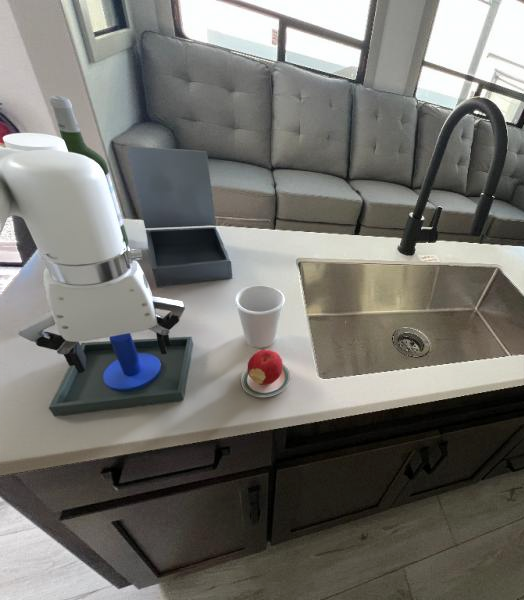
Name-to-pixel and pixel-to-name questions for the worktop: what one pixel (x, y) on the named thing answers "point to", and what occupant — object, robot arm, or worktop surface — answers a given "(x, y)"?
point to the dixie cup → (260, 314)
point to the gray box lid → (172, 187)
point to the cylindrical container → (34, 142)
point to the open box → (187, 256)
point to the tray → (97, 396)
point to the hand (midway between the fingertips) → (125, 356)
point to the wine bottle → (81, 145)
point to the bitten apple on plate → (265, 374)
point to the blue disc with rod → (130, 366)
